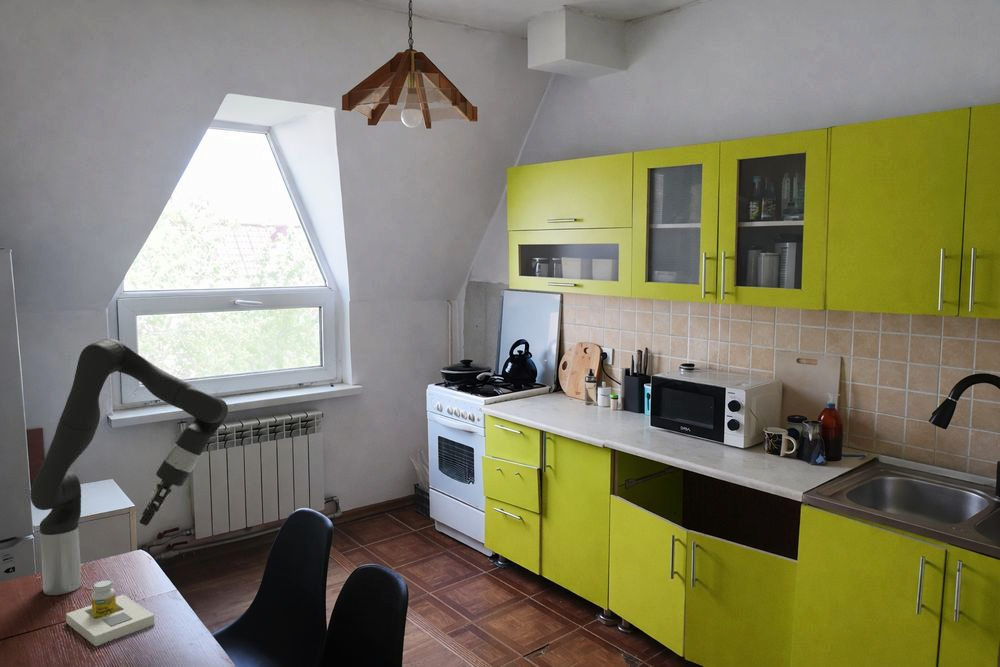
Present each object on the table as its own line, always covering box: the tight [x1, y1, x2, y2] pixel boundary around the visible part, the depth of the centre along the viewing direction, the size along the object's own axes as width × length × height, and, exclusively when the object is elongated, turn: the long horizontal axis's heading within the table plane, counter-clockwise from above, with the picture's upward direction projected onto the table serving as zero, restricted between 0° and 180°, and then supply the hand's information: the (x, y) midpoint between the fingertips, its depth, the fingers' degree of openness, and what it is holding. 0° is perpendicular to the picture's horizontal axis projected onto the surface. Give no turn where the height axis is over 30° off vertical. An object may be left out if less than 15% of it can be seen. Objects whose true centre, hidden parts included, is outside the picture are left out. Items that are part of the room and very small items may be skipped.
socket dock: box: [65, 594, 156, 647], centre depth 182 cm, size 18×14×3 cm
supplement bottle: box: [91, 580, 117, 619], centre depth 184 cm, size 5×5×10 cm
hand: (144, 520), depth 187 cm, fingers open, 8 cm apart
